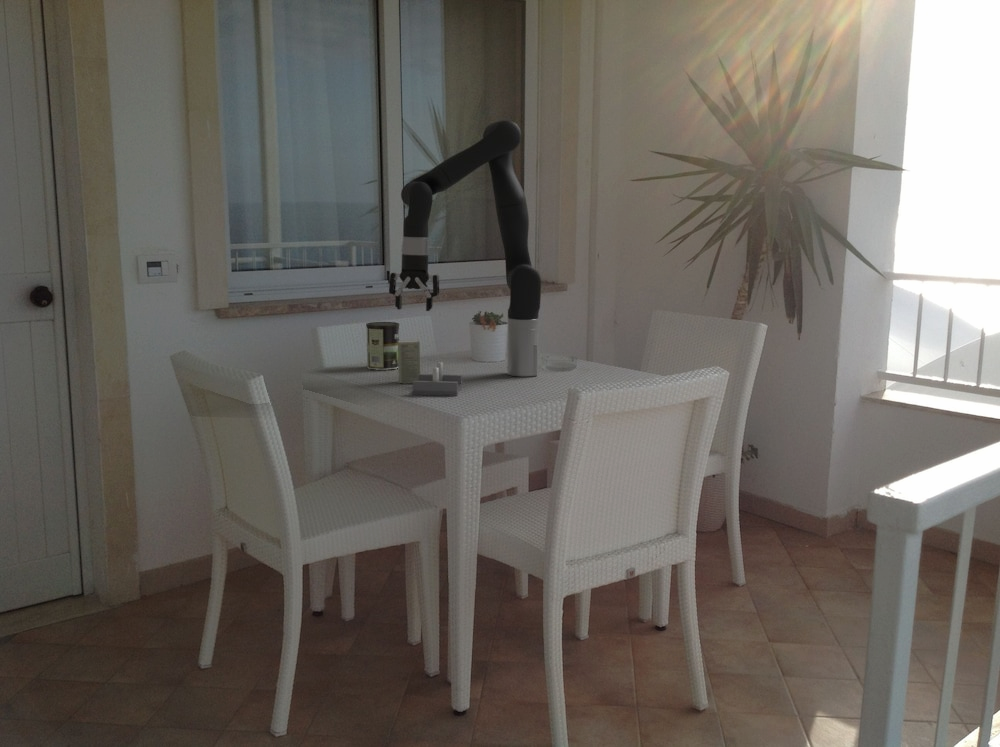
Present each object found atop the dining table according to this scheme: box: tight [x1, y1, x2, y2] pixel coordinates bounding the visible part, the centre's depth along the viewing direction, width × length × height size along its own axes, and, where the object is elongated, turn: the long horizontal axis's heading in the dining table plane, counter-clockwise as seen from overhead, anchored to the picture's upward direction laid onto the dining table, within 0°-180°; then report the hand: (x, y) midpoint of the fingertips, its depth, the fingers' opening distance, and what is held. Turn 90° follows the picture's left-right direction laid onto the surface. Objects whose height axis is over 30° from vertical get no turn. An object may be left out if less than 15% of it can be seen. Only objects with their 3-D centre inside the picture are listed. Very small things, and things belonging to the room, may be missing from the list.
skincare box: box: [397, 339, 421, 384], centre depth 272 cm, size 6×4×12 cm
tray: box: [412, 361, 463, 397], centre depth 260 cm, size 12×12×7 cm
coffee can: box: [365, 321, 400, 371], centre depth 295 cm, size 10×10×14 cm
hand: (413, 310), depth 271 cm, fingers open, 8 cm apart
